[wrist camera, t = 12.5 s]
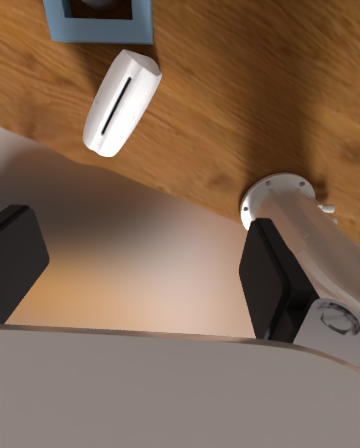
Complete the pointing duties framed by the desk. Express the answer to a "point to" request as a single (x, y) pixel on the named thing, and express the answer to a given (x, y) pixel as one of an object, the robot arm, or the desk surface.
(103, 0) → the dark grey cylinder
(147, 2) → the collar
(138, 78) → the photo printer
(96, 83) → the desk surface
